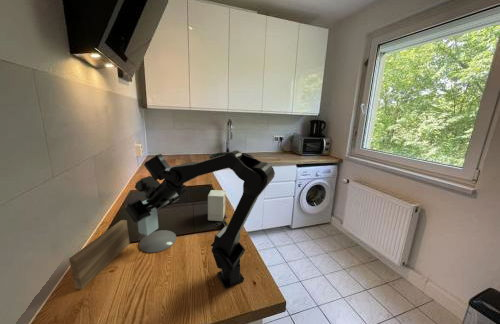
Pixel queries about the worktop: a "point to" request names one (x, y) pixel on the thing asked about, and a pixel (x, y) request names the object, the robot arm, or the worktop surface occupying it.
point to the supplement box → (216, 205)
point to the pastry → (227, 221)
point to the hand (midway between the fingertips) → (144, 213)
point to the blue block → (148, 222)
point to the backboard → (98, 254)
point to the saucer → (157, 241)
